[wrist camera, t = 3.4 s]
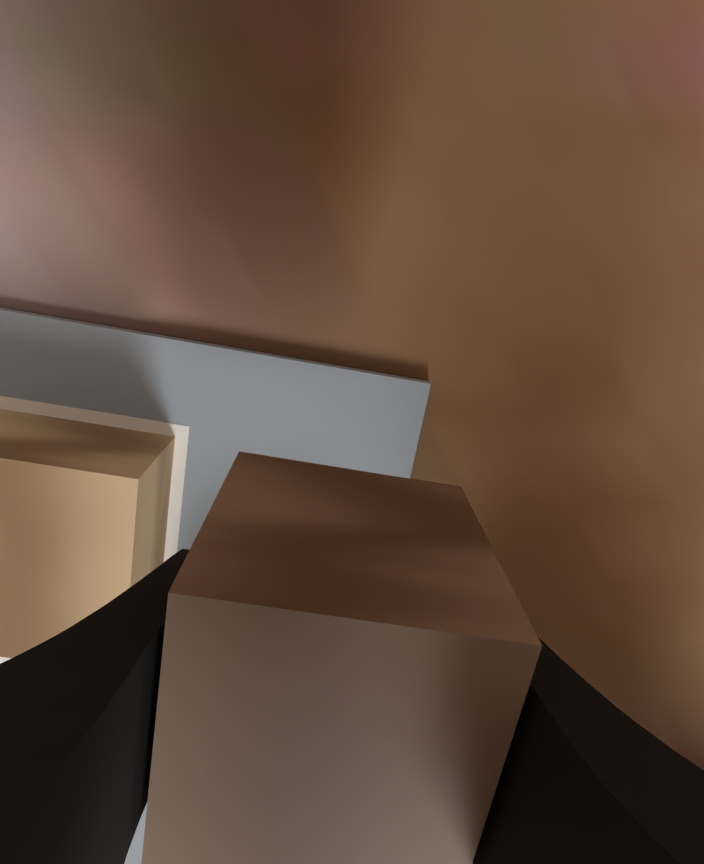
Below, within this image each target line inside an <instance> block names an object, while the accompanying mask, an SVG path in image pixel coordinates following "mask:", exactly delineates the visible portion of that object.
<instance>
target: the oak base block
mask: <svg viewBox="0 0 704 864" xmlns="http://www.w3.org/2000/svg"><path fill="white" fill-rule="evenodd" d="M174 444H175V437H174V436H168V435H162V434H155V433H149V432H143V431H137V430H131V429H124V428H118V427H112V426H106V425H99V424H93V423H87V422H81V421H74V420H68V419H62V418H56V417H49V416H43V415H37V414H31V413H24V412H18V411H12V410H6V409H0V657H6V658H13V657H15V656H17V655H19V654H21V653H23V652H25V651H27V650H29V649H31V648H33V647H35V646H37V645H39V644H41V643H43V642H45V641H46V640H48V639H50V638H52V637H54V636H56V635H57V634H59V633H61V632H63V631H64V630H66V629H68V628H70V627H71V626H73V625H74V624H76V623H78V622H79V621H81V620H82V619H84V618H85V617H87V616H89V615H90V614H92V613H93V612H95V611H97V610H98V609H100V608H101V607H103V606H104V605H106V604H107V603H109V602H110V601H112V600H113V599H114V598H116V597H117V596H119V595H120V594H121V593H123V592H124V591H126V590H127V589H128V588H130V587H131V586H133V585H134V584H136V583H137V582H138V581H140V580H141V579H142V578H144V577H145V576H146V575H148V574H149V573H150V572H152V571H153V570H154V569H155V568H157V567H158V566H159V565H161V564H162V563H163V562H164V551H165V540H166V530H167V519H168V508H169V497H170V487H171V476H172V465H173V455H174Z"/></svg>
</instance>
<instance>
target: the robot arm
mask: <svg viewBox="0 0 704 864" xmlns="http://www.w3.org/2000/svg"><path fill="white" fill-rule="evenodd" d="M188 552H189V550H188V549H181V550H180V551H178V552H177V553H175V554H174V555H173V556H171V557H170V558H169V559H167V560H166V561H165V562H163V563H162V564H161V565H159V566H158V567H157V568H155V569H154V570H153V571H152V572H150V573H149V574H148V575H146V576H145V577H144V578H142V579H141V580H140V581H138V582H137V583H136V584H134V585H133V586H131V587H130V588H128V589H127V590H126V591H124V592H123V593H121V594H120V595H119V596H117V597H116V598H114V599H113V600H112V601H110V602H109V603H107V604H106V605H104V606H103V607H101V608H100V609H98V610H97V611H95V612H93V613H92V614H90V615H89V616H87V617H85V618H84V619H82V620H81V621H79V622H78V623H76V624H74V625H73V626H71V627H70V628H68V629H66V630H64V631H63V632H61V633H59V634H57V635H56V636H54V637H52V638H50V639H48V640H46V641H45V642H43V643H41V644H39V645H37V646H35V647H33V648H31V649H29V650H27V651H25V652H23V653H21V654H19V655H17V656H15V657H13V658H11V659H9V660H7V661H5V662H3V663H1V664H0V864H124V863H125V859H126V856H127V853H128V850H129V848H130V845H131V842H132V839H133V837H134V834H135V831H136V829H137V826H138V823H139V821H140V818H141V816H142V813H143V811H144V809H145V806H146V804H147V801H148V791H149V781H150V771H151V761H152V751H153V741H154V731H155V720H156V710H157V700H158V690H159V680H160V670H161V660H162V650H163V640H164V630H165V620H166V610H167V600H168V592H169V590H170V588H171V586H172V584H173V582H174V580H175V578H176V576H177V574H178V572H179V570H180V568H181V566H182V564H183V562H184V560H185V558H186V556H187V554H188ZM538 639H539V640H540V642H541V644H542V648H541V651H540V654H539V657H538V660H537V663H536V666H535V670H534V673H533V676H532V679H531V682H530V685H529V688H528V691H527V694H526V698H525V701H524V704H523V707H522V710H521V713H520V716H519V719H518V722H517V726H516V729H515V732H514V735H513V738H512V741H511V744H510V747H509V750H508V754H507V757H506V760H505V763H504V766H503V769H502V772H501V775H500V778H499V782H498V785H497V788H496V791H495V794H494V797H493V800H492V803H491V806H490V810H489V813H488V816H487V819H486V822H485V825H484V828H483V831H482V834H481V837H480V841H479V844H478V847H477V850H476V853H475V856H474V859H473V864H704V771H703V770H702V769H700V768H699V767H697V766H696V765H694V764H693V763H691V762H690V761H688V760H687V759H686V758H684V757H683V756H681V755H680V754H678V753H677V752H675V751H674V750H673V749H671V748H670V747H668V746H667V745H666V744H664V743H663V742H662V741H660V740H659V739H658V738H656V737H655V736H654V735H652V734H651V733H649V732H648V731H647V730H645V729H644V728H643V727H641V726H640V725H639V724H637V723H636V722H635V721H633V720H632V719H631V718H630V717H628V716H627V715H626V714H624V713H623V712H622V711H621V710H619V709H618V708H617V707H616V706H615V705H613V704H612V703H611V702H610V701H609V700H607V699H606V698H605V697H604V696H603V695H602V694H600V693H599V692H598V691H597V690H596V689H594V688H593V687H592V686H591V685H590V684H589V683H587V682H586V681H585V680H584V679H583V678H582V677H581V676H579V675H578V674H577V673H576V672H575V671H574V670H573V669H572V668H571V667H569V666H568V665H567V664H566V663H565V662H564V661H563V660H562V659H561V658H560V657H559V656H558V655H556V654H555V653H554V652H553V651H552V650H551V649H550V648H549V647H548V646H547V645H546V644H545V643H544V642H543V641H542V640H541V639H540V638H539V637H538Z"/></svg>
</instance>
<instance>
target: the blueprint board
mask: <svg viewBox="0 0 704 864" xmlns="http://www.w3.org/2000/svg"><path fill="white" fill-rule="evenodd" d="M430 386H431V383H430V382H429V381H426V380H420V379H414V378H409V377H403V376H397V375H391V374H385V373H380V372H374V371H368V370H362V369H356V368H351V367H345V366H339V365H333V364H327V363H321V362H316V361H310V360H304V359H298V358H292V357H287V356H281V355H275V354H269V353H263V352H258V351H252V350H246V349H240V348H234V347H229V346H223V345H217V344H211V343H205V342H200V341H194V340H188V339H182V338H176V337H171V336H165V335H159V334H153V333H147V332H142V331H136V330H130V329H124V328H118V327H113V326H107V325H101V324H95V323H89V322H83V321H78V320H72V319H66V318H60V317H54V316H49V315H43V314H37V313H31V312H25V311H20V310H14V309H8V308H2V307H0V409H6V410H12V411H18V412H24V413H31V414H37V415H43V416H49V417H56V418H62V419H68V420H74V421H81V422H87V423H93V424H99V425H106V426H112V427H118V428H124V429H131V430H137V431H143V432H149V433H155V434H162V435H168V436H174V437H175V444H174V455H173V465H172V476H171V487H170V497H169V508H168V519H167V530H166V540H165V551H164V562H165V561H166V560H167V559H169V558H170V557H171V556H173V555H174V554H175V553H177V552H178V551H180V550H181V549H188V550H190V548H191V546H192V544H193V542H194V540H195V538H196V536H197V534H198V532H199V530H200V528H201V526H202V524H203V522H204V520H205V518H206V516H207V514H208V512H209V510H210V508H211V506H212V504H213V502H214V500H215V498H216V496H217V494H218V492H219V490H220V488H221V486H222V484H223V482H224V480H225V478H226V476H227V474H228V472H229V470H230V468H231V466H232V464H233V462H234V460H235V458H236V456H237V454H238V452H239V451H241V452H247V453H253V454H259V455H266V456H272V457H278V458H284V459H290V460H297V461H303V462H309V463H315V464H322V465H328V466H334V467H340V468H347V469H353V470H359V471H365V472H372V473H378V474H384V475H390V476H397V477H403V478H409V479H410V476H411V471H412V467H413V463H414V458H415V454H416V449H417V445H418V440H419V436H420V431H421V427H422V422H423V418H424V413H425V409H426V404H427V400H428V395H429V391H430ZM9 659H11V658H6V657H0V664H1V663H3V662H5V661H7V660H9ZM146 811H147V804H146V806H145V809H144V811H143V813H142V816H141V818H140V821H139V823H138V826H137V829H136V831H135V834H134V837H133V839H132V842H131V845H130V848H129V850H128V853H127V856H126V859H125V863H124V864H141V861H142V851H143V841H144V831H145V821H146Z"/></svg>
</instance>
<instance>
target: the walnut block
mask: <svg viewBox="0 0 704 864" xmlns="http://www.w3.org/2000/svg"><path fill="white" fill-rule="evenodd" d="M541 648H542V644H541V642H540V640H539V639H538V637H537V635H536V633H535V631H534V629H533V627H532V625H531V623H530V621H529V619H528V617H527V615H526V613H525V611H524V609H523V607H522V605H521V603H520V601H519V599H518V597H517V596H516V594H515V592H514V590H513V588H512V586H511V584H510V582H509V580H508V578H507V576H506V574H505V572H504V570H503V568H502V566H501V564H500V562H499V560H498V558H497V556H496V554H495V553H494V551H493V549H492V547H491V545H490V543H489V541H488V539H487V537H486V535H485V533H484V531H483V529H482V527H481V525H480V523H479V521H478V519H477V517H476V515H475V513H474V511H473V510H472V508H471V506H470V504H469V502H468V500H467V498H466V496H465V494H464V492H463V490H462V488H461V487H459V486H453V485H446V484H440V483H434V482H428V481H421V480H415V479H409V478H403V477H397V476H390V475H384V474H378V473H372V472H365V471H359V470H353V469H347V468H340V467H334V466H328V465H322V464H315V463H309V462H303V461H297V460H290V459H284V458H278V457H272V456H266V455H259V454H253V453H247V452H241V451H239V452H238V454H237V456H236V458H235V460H234V462H233V464H232V466H231V468H230V470H229V472H228V474H227V476H226V478H225V480H224V482H223V484H222V486H221V488H220V490H219V492H218V494H217V496H216V498H215V500H214V502H213V504H212V506H211V508H210V510H209V512H208V514H207V516H206V518H205V520H204V522H203V524H202V526H201V528H200V530H199V532H198V534H197V536H196V538H195V540H194V542H193V544H192V546H191V548H190V550H189V552H188V554H187V556H186V558H185V560H184V562H183V564H182V566H181V568H180V570H179V572H178V574H177V576H176V578H175V580H174V582H173V584H172V586H171V588H170V590H169V592H168V600H167V610H166V620H165V630H164V640H163V650H162V660H161V670H160V680H159V690H158V700H157V710H156V720H155V731H154V741H153V751H152V761H151V771H150V781H149V791H148V801H147V811H146V821H145V831H144V841H143V851H142V861H141V864H472V862H473V859H474V856H475V853H476V850H477V847H478V844H479V841H480V837H481V834H482V831H483V828H484V825H485V822H486V819H487V816H488V813H489V810H490V806H491V803H492V800H493V797H494V794H495V791H496V788H497V785H498V782H499V778H500V775H501V772H502V769H503V766H504V763H505V760H506V757H507V754H508V750H509V747H510V744H511V741H512V738H513V735H514V732H515V729H516V726H517V722H518V719H519V716H520V713H521V710H522V707H523V704H524V701H525V698H526V694H527V691H528V688H529V685H530V682H531V679H532V676H533V673H534V670H535V666H536V663H537V660H538V657H539V654H540V651H541Z"/></svg>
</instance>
